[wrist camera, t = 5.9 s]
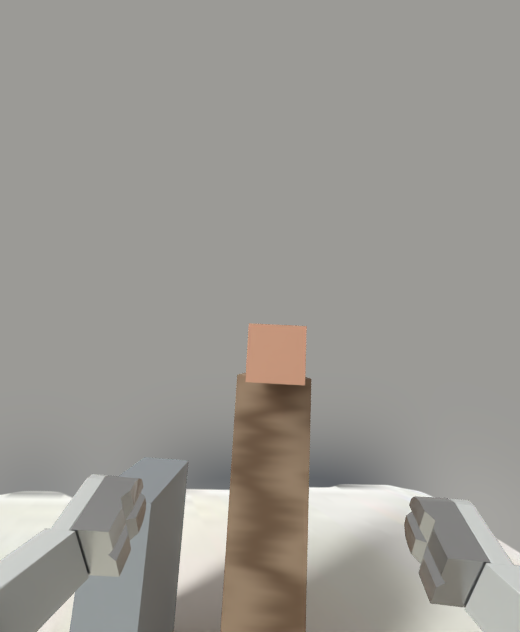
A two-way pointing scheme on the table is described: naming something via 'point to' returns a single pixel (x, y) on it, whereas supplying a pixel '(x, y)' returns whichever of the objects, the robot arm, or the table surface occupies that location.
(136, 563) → the blue-grey block
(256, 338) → the bar
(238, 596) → the pillar
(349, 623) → the table surface
